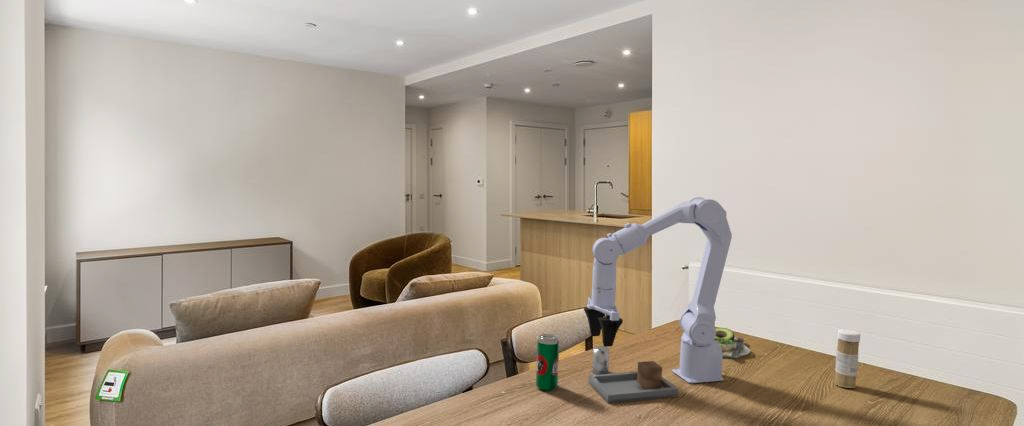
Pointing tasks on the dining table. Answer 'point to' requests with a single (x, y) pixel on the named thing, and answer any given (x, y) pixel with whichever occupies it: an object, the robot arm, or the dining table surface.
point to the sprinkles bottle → (847, 358)
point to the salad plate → (730, 344)
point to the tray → (628, 388)
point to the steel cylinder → (600, 360)
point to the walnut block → (649, 375)
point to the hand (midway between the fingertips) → (601, 340)
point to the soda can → (547, 362)
